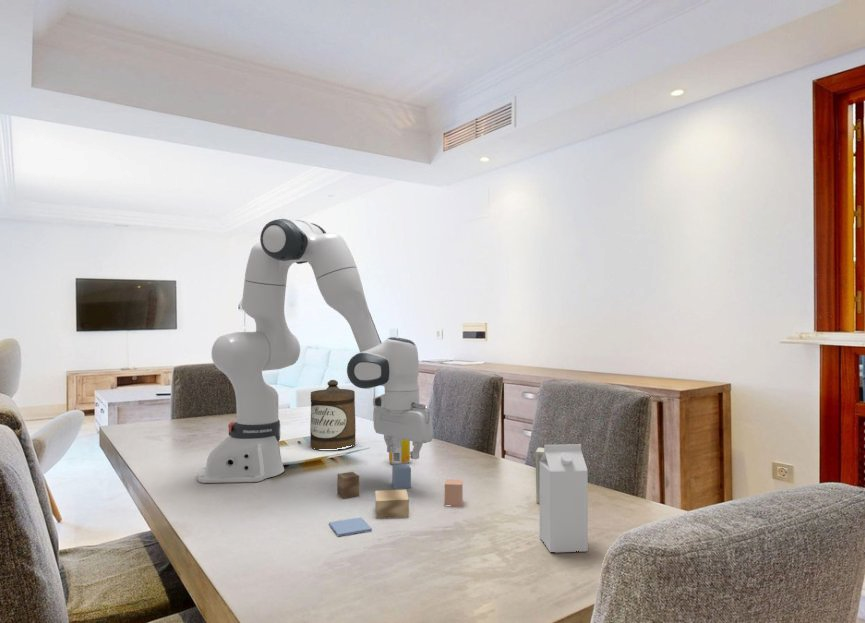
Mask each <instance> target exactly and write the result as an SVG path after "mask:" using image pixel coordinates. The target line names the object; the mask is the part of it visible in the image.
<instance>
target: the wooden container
mask: <svg viewBox="0 0 865 623" xmlns="http://www.w3.org/2000/svg"><path fill="white" fill-rule="evenodd" d="M338 386H339V382H338V381H337V380H336V379H330V380H329V381H327V388H326V389H318V390H313V391H311V392H310V422H309V423H310V429H309V430H310V433H309V434H310V447H312V448H311V449H313V448H315V449H337V448H342V447H346V446H351V445H352V446H353V445H355V446H356V432H357V429H356V427H357V426H356V402H355V401H356V400H355V398H356V395H355V394H356V393H355V390H353V389H348V388H345V389H344V388H339V387H338ZM315 449H314V450H315Z"/></svg>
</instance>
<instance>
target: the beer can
mask: <svg viewBox="0 0 865 623" xmlns="http://www.w3.org/2000/svg"><path fill="white" fill-rule="evenodd" d="M392 440H393V443H394V445H395V446H396V452H395V453H389V452H388V461H389V462H390V464H391V465H402V464H408V465H409V462H410V460H411V458H410V456H411V455H410V452H411V446H410V445H411V443H410V442H411V441H409V440H404V439H400V438H396V437H393V438H392Z"/></svg>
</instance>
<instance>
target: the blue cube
mask: <svg viewBox="0 0 865 623" xmlns="http://www.w3.org/2000/svg"><path fill="white" fill-rule="evenodd" d="M391 467H392V468H391V470H392V475H391V476H392V477H391V478H392V479H391V484H392V486H393V488H394V490H403V489H411V487H412V467H410V465H409V463H408V464H402V465H393V464H391Z"/></svg>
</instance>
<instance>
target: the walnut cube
mask: <svg viewBox="0 0 865 623" xmlns="http://www.w3.org/2000/svg"><path fill="white" fill-rule="evenodd" d="M336 488H337V490H336V492H337V496H339V497H340V498H341V499H343V500H346V499H353V498H357V497H360V475H359V474H357V473H355V472H354V471H349V472H343V473H337V486H336Z"/></svg>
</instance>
